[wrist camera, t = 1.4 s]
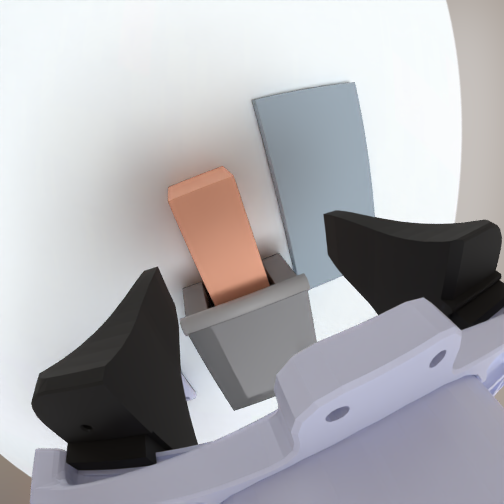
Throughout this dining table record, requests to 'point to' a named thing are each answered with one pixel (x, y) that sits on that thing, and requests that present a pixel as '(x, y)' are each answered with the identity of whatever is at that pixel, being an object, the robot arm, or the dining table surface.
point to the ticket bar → (218, 234)
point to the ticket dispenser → (251, 332)
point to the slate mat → (315, 167)
